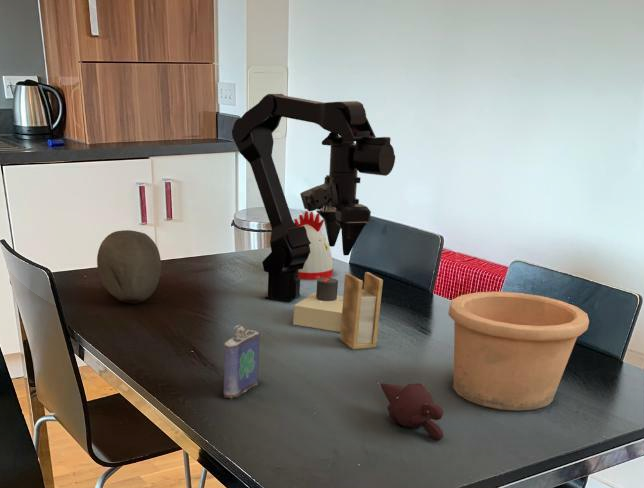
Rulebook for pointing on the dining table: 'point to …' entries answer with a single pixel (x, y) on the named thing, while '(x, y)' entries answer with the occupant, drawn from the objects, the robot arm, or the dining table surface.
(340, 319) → the wooden block
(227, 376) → the flask
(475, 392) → the pottery
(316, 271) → the kitchen timer
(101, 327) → the dining table surface
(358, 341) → the napkin holder
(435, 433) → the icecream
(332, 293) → the dial
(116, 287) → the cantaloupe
